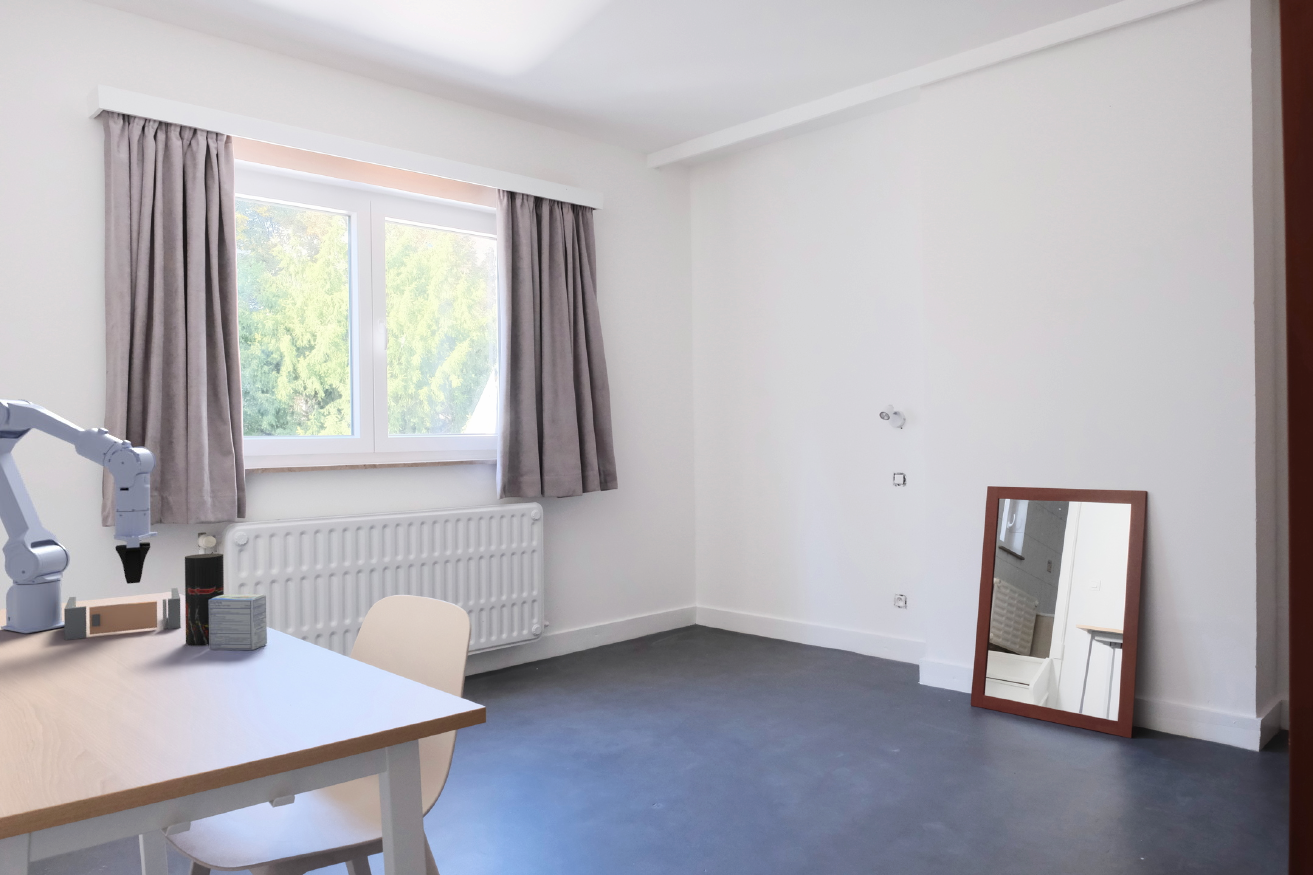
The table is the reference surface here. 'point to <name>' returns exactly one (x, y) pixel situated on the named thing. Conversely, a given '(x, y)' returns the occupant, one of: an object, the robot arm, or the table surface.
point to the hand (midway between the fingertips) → (133, 582)
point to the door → (123, 617)
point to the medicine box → (237, 622)
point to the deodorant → (201, 594)
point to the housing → (77, 616)
